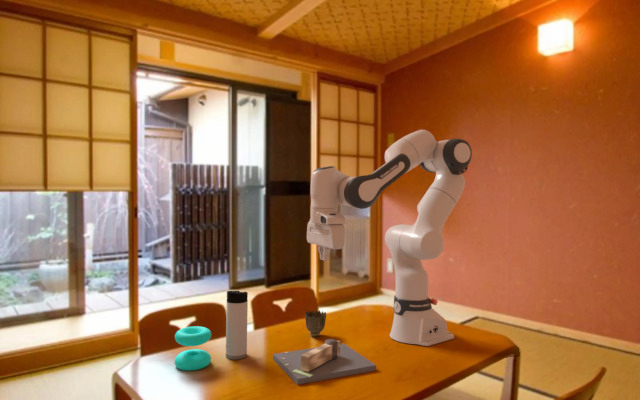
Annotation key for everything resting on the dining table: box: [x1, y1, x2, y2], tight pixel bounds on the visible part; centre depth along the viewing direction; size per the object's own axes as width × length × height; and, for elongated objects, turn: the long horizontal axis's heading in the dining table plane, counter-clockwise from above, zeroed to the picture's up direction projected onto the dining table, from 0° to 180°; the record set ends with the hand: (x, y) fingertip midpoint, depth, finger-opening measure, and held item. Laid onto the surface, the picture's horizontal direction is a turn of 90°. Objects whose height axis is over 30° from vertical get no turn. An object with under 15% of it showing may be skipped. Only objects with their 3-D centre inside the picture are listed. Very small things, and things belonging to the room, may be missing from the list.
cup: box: [304, 310, 327, 338], centre depth 154 cm, size 8×7×8 cm
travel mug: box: [225, 290, 249, 360], centre depth 134 cm, size 6×7×20 cm
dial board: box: [272, 343, 377, 386], centre depth 128 cm, size 24×19×2 cm
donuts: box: [174, 325, 212, 371], centre depth 126 cm, size 10×10×10 cm
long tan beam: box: [301, 338, 341, 372], centre depth 125 cm, size 16×4×4 cm, turn 146°
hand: (324, 259), depth 143 cm, fingers closed
